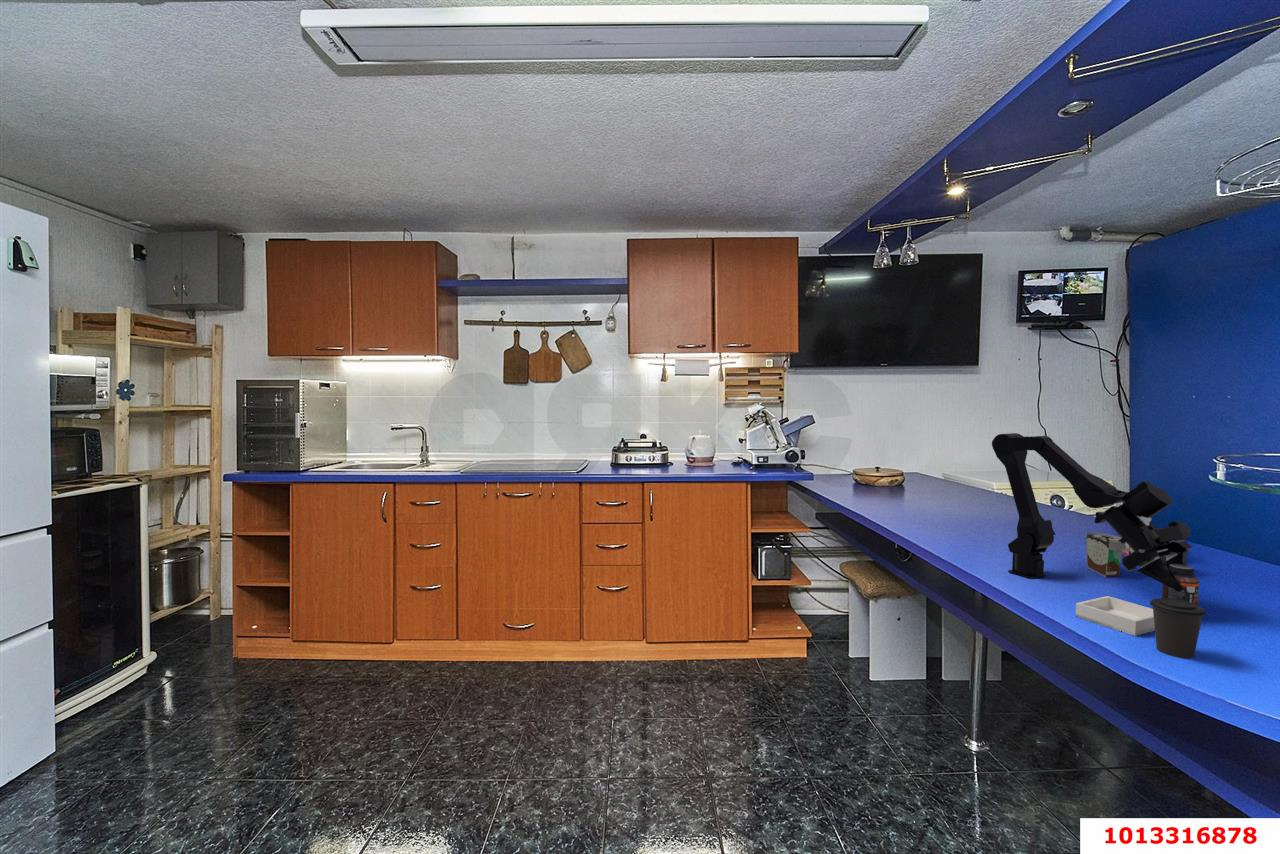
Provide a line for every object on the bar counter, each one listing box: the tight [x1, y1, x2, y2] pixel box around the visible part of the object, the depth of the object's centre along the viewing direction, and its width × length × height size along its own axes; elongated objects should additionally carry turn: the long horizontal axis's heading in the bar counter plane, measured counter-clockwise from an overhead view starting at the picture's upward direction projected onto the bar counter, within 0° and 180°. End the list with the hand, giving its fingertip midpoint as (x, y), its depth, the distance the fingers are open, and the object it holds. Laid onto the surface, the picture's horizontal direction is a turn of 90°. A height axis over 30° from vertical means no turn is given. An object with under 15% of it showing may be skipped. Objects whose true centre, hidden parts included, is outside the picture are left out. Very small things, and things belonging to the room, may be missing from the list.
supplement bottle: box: [1161, 564, 1200, 606], centre depth 130 cm, size 6×6×11 cm
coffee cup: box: [1149, 597, 1207, 659], centre depth 112 cm, size 8×8×10 cm
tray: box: [1075, 595, 1155, 637], centre depth 127 cm, size 11×11×3 cm
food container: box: [1085, 531, 1126, 578], centre depth 161 cm, size 12×6×10 cm, turn 168°
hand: (1188, 588), depth 129 cm, fingers closed on supplement bottle, 6 cm apart
